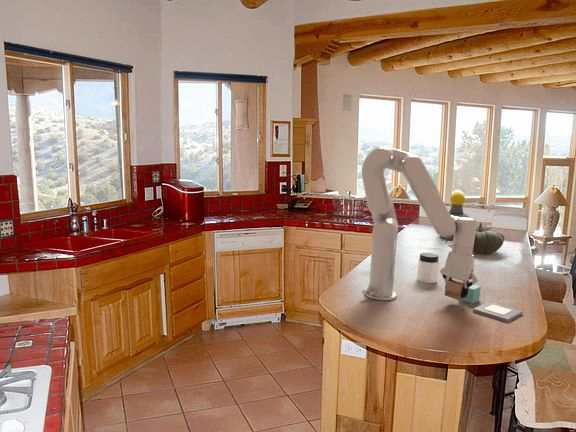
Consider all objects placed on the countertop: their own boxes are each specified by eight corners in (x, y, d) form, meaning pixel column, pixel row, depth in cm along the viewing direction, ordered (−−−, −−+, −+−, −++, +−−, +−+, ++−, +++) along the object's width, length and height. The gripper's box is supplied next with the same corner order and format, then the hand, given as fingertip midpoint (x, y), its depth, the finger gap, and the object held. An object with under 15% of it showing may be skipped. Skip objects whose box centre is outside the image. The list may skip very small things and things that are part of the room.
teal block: (472, 304, 190) (473, 289, 189) (457, 299, 194) (459, 285, 193) (479, 300, 194) (480, 286, 193) (465, 296, 198) (466, 282, 197)
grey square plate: (507, 322, 171) (508, 318, 171) (472, 311, 181) (473, 308, 181) (522, 314, 180) (522, 310, 180) (488, 304, 190) (488, 301, 189)
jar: (414, 280, 217) (416, 255, 215) (419, 276, 224) (421, 251, 222) (434, 284, 213) (437, 258, 211) (439, 280, 220) (441, 254, 218)
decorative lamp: (433, 234, 324) (437, 190, 319) (456, 234, 329) (461, 190, 324) (450, 241, 306) (455, 194, 301) (475, 240, 312) (480, 194, 307)
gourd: (496, 243, 291) (498, 216, 285) (510, 260, 267) (512, 231, 262) (454, 245, 294) (454, 218, 288) (463, 262, 271) (464, 233, 265)
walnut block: (458, 300, 183) (461, 285, 182) (444, 295, 188) (446, 280, 187) (466, 297, 187) (468, 282, 186) (452, 292, 192) (454, 278, 191)
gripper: (436, 245, 188) (430, 289, 191) (479, 256, 176) (472, 303, 179) (446, 243, 193) (440, 286, 196) (488, 253, 181) (481, 299, 184)
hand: (455, 294), depth 187 cm, fingers closed on walnut block, 6 cm apart
